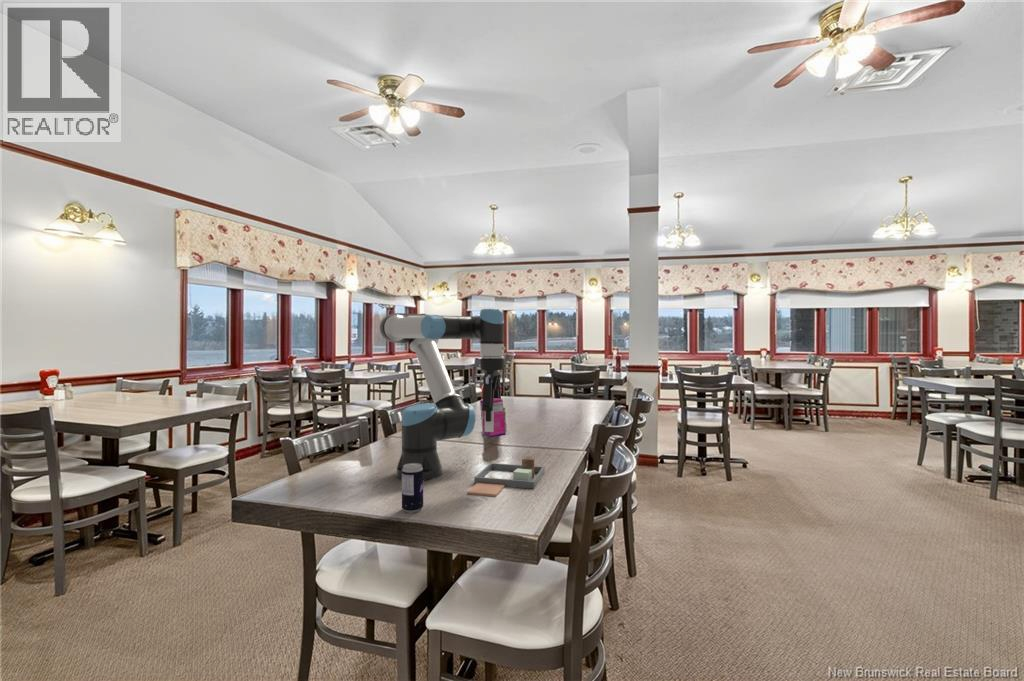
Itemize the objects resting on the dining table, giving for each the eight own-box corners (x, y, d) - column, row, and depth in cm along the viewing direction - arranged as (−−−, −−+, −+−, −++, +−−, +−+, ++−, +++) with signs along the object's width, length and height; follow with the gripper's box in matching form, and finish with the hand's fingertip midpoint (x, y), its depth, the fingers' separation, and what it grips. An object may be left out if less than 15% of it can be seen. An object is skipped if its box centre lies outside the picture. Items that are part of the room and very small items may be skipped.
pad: (467, 493, 139) (467, 491, 139) (477, 484, 147) (477, 482, 147) (496, 496, 136) (496, 494, 136) (504, 486, 145) (504, 485, 145)
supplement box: (481, 435, 150) (479, 399, 150) (498, 433, 153) (495, 397, 153) (489, 437, 145) (486, 400, 145) (506, 435, 147) (503, 398, 148)
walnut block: (521, 477, 155) (521, 459, 155) (522, 473, 159) (522, 456, 159) (534, 477, 155) (534, 459, 155) (534, 474, 159) (534, 456, 159)
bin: (474, 483, 148) (474, 477, 148) (490, 468, 165) (490, 463, 165) (534, 488, 144) (534, 482, 144) (544, 472, 160) (544, 466, 160)
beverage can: (423, 512, 124) (423, 467, 124) (401, 514, 123) (401, 468, 123) (423, 505, 129) (423, 462, 129) (402, 506, 128) (401, 463, 128)
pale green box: (513, 484, 148) (513, 471, 148) (517, 480, 152) (517, 468, 152) (528, 485, 147) (528, 473, 147) (532, 482, 150) (532, 469, 150)
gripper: (496, 358, 138) (496, 436, 138) (510, 356, 158) (510, 423, 158) (471, 358, 139) (471, 435, 139) (488, 356, 160) (488, 422, 160)
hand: (492, 429), depth 149 cm, fingers closed on supplement box, 8 cm apart
